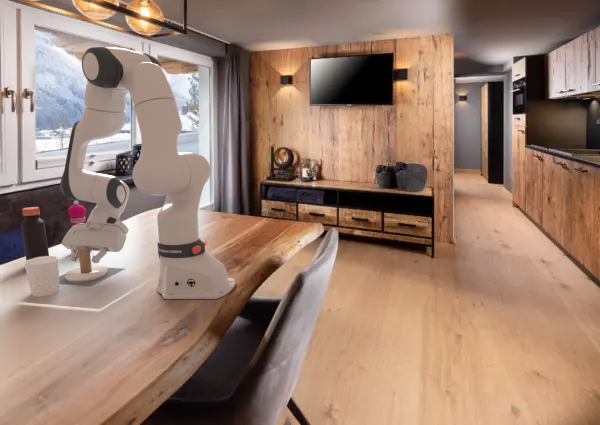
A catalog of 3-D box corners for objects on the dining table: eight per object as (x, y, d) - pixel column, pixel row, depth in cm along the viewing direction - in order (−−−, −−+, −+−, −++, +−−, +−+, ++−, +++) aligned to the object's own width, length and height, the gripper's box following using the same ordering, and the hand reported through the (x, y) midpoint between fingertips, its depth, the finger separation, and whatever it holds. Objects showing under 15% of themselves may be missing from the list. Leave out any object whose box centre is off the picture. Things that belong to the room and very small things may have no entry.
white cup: (51, 299, 112) (46, 264, 110) (22, 299, 112) (17, 264, 110) (67, 288, 120) (63, 255, 118) (41, 288, 120) (36, 256, 118)
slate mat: (125, 270, 135) (125, 268, 135) (91, 288, 120) (91, 286, 119) (83, 267, 138) (83, 265, 138) (45, 284, 123) (44, 282, 123)
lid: (115, 270, 133) (112, 243, 132) (90, 283, 122) (86, 254, 120) (83, 268, 136) (80, 242, 134) (55, 280, 124) (51, 252, 122)
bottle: (36, 261, 146) (28, 206, 142) (54, 261, 145) (47, 206, 141) (22, 267, 139) (13, 209, 135) (40, 267, 138) (32, 210, 135)
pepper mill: (95, 251, 157) (89, 200, 153) (75, 256, 152) (68, 203, 148) (88, 248, 162) (82, 198, 158) (68, 252, 156) (61, 200, 152)
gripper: (68, 217, 134) (48, 255, 127) (123, 219, 130) (106, 258, 123) (80, 227, 139) (61, 264, 132) (133, 230, 135) (117, 267, 128)
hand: (83, 261), depth 127 cm, fingers open, 6 cm apart
